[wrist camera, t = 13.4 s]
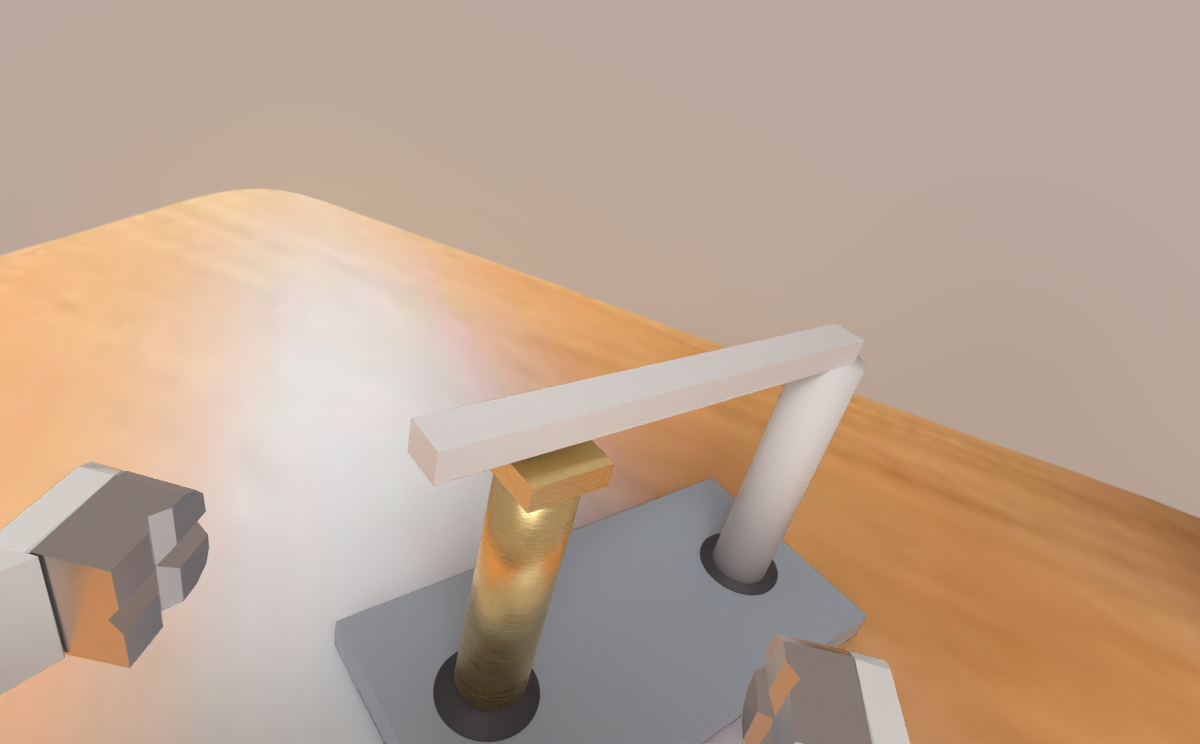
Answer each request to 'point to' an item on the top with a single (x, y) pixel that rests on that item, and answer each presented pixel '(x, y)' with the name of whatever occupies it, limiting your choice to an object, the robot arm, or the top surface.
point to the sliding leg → (521, 568)
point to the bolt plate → (628, 563)
